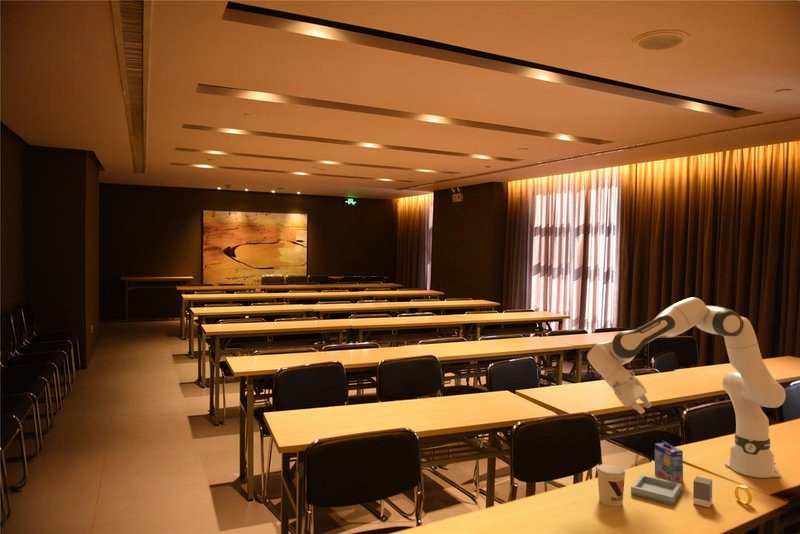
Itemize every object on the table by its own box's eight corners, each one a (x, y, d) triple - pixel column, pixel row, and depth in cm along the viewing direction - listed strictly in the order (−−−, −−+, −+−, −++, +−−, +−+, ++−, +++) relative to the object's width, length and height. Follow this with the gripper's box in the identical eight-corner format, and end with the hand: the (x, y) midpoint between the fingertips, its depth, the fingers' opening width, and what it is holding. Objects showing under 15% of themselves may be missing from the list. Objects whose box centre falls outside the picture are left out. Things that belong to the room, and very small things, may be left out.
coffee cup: (612, 510, 187) (612, 475, 187) (591, 499, 195) (591, 466, 195) (630, 504, 191) (631, 470, 191) (609, 493, 200) (609, 461, 199)
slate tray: (641, 482, 210) (641, 474, 209) (681, 491, 201) (681, 483, 201) (630, 494, 199) (630, 486, 199) (672, 505, 190) (672, 497, 190)
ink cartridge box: (653, 473, 218) (653, 437, 217) (665, 471, 219) (665, 436, 219) (671, 483, 208) (672, 446, 208) (683, 481, 210) (683, 444, 209)
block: (696, 499, 195) (696, 476, 194) (712, 503, 191) (712, 479, 191) (693, 504, 191) (693, 480, 190) (709, 508, 187) (709, 484, 187)
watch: (733, 500, 194) (732, 483, 194) (739, 499, 195) (738, 482, 195) (748, 506, 188) (747, 489, 189) (754, 505, 189) (753, 488, 189)
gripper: (617, 380, 200) (645, 411, 194) (633, 370, 216) (659, 399, 210) (605, 390, 203) (632, 421, 197) (622, 380, 219) (647, 408, 213)
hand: (646, 409), depth 204 cm, fingers open, 8 cm apart
